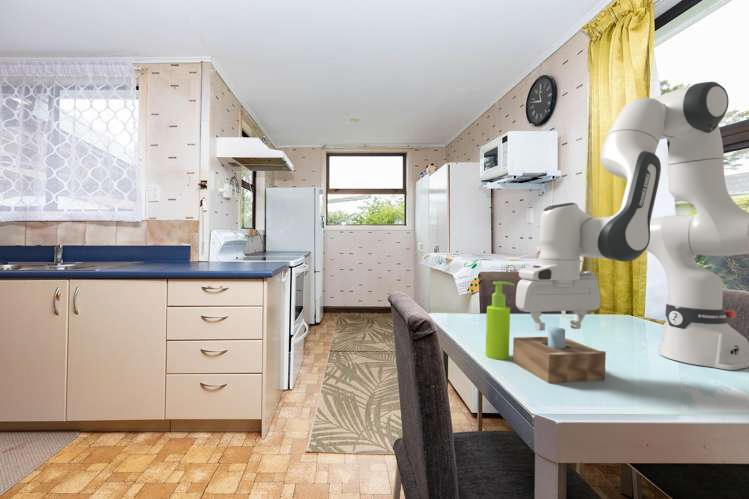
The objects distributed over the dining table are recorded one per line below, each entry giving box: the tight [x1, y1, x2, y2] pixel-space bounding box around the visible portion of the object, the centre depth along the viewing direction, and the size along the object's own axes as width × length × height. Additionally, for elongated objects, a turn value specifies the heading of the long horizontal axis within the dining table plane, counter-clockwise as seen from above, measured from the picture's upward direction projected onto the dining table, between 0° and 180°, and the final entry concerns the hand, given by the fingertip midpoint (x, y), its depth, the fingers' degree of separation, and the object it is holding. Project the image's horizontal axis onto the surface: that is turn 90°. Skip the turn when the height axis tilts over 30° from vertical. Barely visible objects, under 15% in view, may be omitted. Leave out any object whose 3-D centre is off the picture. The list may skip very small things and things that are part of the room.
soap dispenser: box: [485, 280, 516, 361], centre depth 97 cm, size 6×7×20 cm
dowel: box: [547, 326, 566, 349], centre depth 87 cm, size 4×4×10 cm
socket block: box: [512, 336, 607, 384], centre depth 87 cm, size 14×14×6 cm
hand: (557, 329), depth 87 cm, fingers open, 8 cm apart
